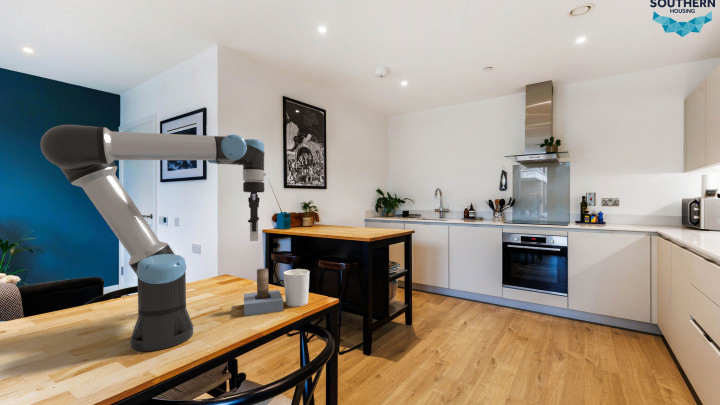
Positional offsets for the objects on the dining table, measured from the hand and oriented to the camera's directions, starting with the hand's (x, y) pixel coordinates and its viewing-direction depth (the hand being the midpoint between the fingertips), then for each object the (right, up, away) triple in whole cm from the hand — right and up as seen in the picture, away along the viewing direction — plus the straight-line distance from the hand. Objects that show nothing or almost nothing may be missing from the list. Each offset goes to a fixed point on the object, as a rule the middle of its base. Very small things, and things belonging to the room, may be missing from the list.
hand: (254, 238), depth 116 cm
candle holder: (+15, -25, +3) cm, 30 cm away
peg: (+4, -25, -2) cm, 26 cm away
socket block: (+4, -25, -2) cm, 26 cm away
